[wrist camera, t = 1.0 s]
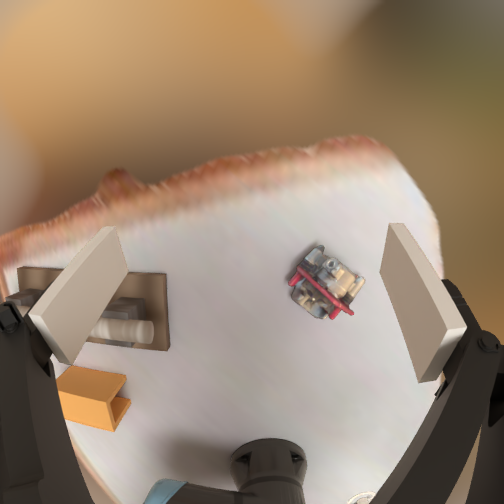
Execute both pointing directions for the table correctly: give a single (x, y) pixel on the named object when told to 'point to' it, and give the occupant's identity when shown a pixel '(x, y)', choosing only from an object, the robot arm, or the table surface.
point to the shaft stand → (113, 308)
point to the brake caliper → (324, 285)
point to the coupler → (92, 397)
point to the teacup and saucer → (362, 502)
